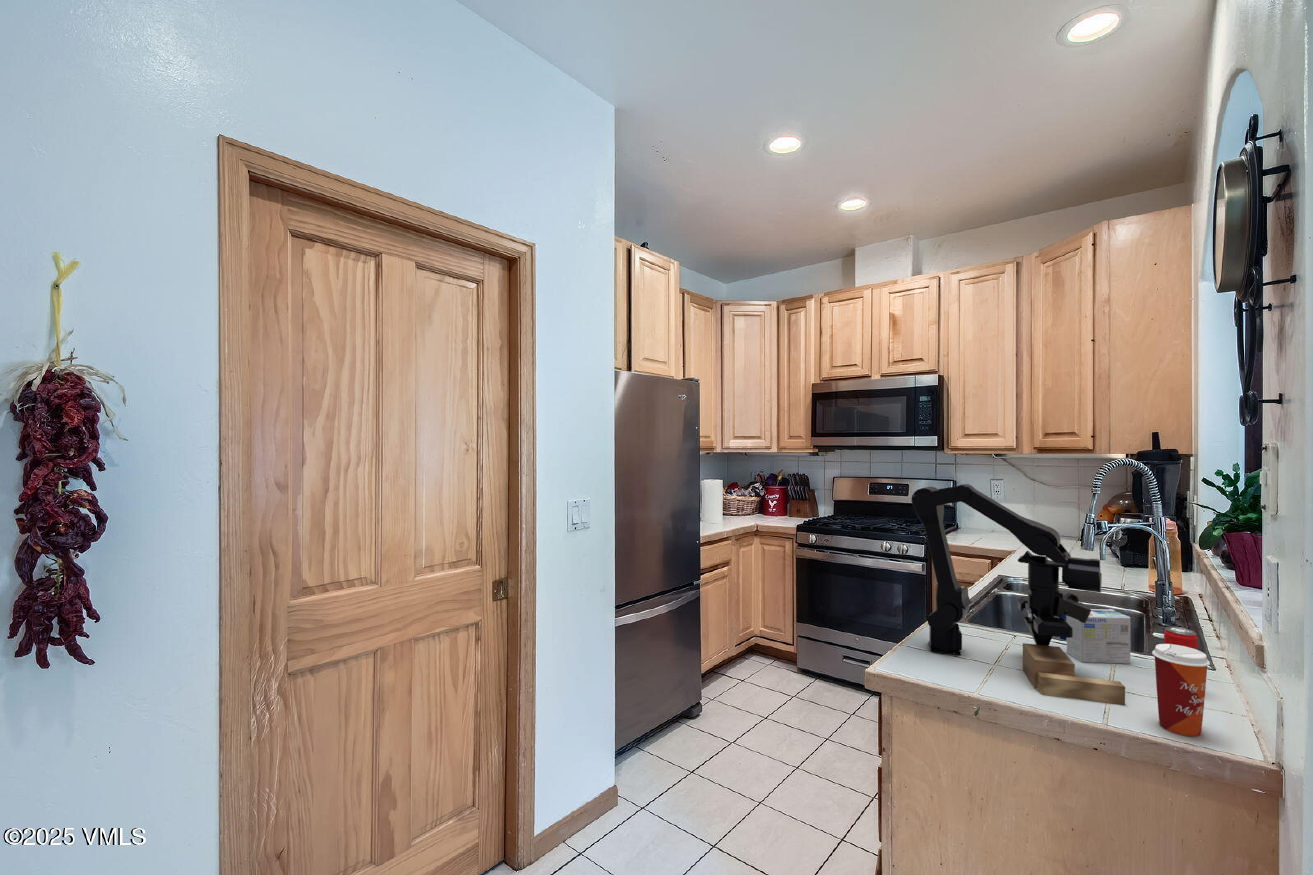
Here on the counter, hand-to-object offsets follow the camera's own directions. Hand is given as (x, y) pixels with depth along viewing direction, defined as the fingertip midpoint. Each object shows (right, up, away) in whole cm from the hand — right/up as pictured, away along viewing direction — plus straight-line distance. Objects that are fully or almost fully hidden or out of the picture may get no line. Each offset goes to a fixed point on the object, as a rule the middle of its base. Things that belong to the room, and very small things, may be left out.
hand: (1042, 654), depth 131 cm
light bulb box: (+17, -4, +7) cm, 19 cm away
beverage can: (+22, -4, -10) cm, 24 cm away
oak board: (-1, -4, -13) cm, 14 cm away
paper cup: (+8, -4, -26) cm, 27 cm away
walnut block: (-3, -4, -6) cm, 7 cm away
